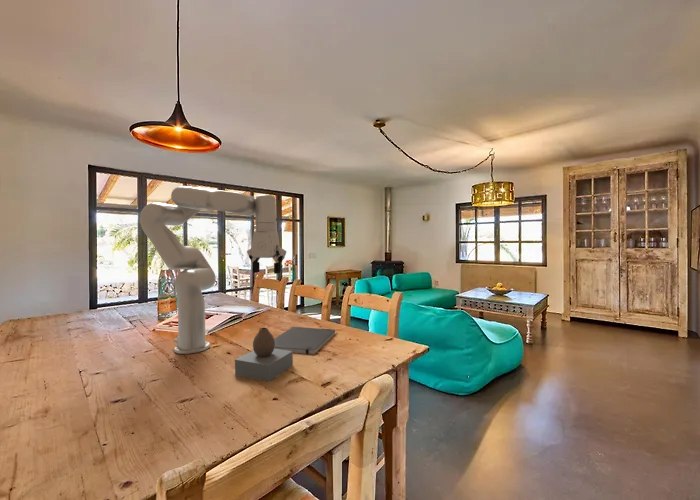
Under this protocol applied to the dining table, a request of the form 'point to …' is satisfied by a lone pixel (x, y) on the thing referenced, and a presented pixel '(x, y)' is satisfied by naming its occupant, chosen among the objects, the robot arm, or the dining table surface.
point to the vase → (263, 343)
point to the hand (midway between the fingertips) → (266, 272)
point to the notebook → (303, 339)
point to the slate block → (264, 365)
